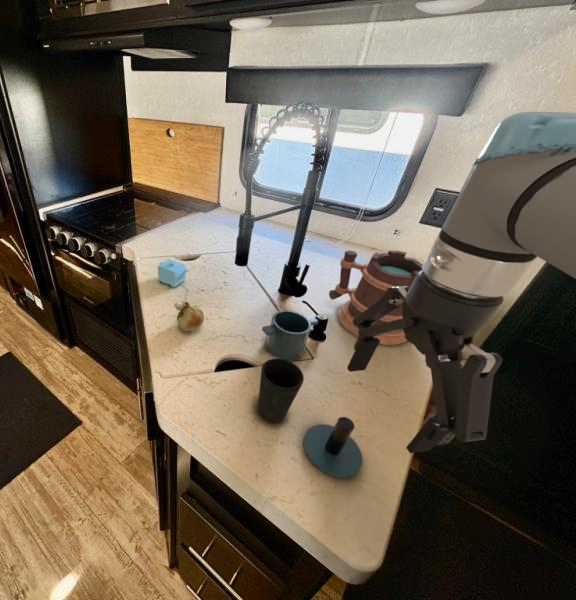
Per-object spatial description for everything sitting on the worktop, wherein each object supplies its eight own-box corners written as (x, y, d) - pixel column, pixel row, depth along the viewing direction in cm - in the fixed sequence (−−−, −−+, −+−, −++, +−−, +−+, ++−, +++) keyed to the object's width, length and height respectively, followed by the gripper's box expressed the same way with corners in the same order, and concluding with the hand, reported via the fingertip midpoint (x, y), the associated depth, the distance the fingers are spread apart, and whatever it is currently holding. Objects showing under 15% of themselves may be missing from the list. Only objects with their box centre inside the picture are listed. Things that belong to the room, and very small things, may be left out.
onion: (180, 338, 84) (181, 315, 79) (173, 320, 90) (173, 298, 85) (207, 334, 85) (209, 310, 81) (197, 316, 92) (199, 294, 87)
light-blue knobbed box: (193, 284, 106) (194, 264, 102) (183, 292, 102) (183, 272, 98) (165, 273, 112) (165, 255, 108) (155, 280, 108) (154, 261, 104)
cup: (275, 392, 69) (286, 354, 62) (297, 420, 64) (312, 382, 57) (245, 402, 67) (253, 364, 60) (266, 433, 61) (277, 394, 54)
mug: (335, 292, 102) (355, 235, 91) (415, 320, 90) (451, 259, 79) (313, 318, 91) (333, 257, 79) (402, 355, 79) (441, 289, 67)
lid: (373, 469, 56) (393, 441, 50) (326, 487, 53) (343, 460, 48) (334, 421, 63) (348, 393, 58) (292, 435, 61) (303, 407, 56)
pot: (319, 352, 79) (328, 327, 75) (269, 365, 76) (276, 339, 71) (297, 330, 87) (304, 305, 82) (251, 341, 83) (255, 316, 78)
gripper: (358, 235, 43) (317, 346, 55) (560, 375, 23) (424, 501, 35) (408, 232, 43) (356, 343, 56) (648, 366, 23) (484, 493, 36)
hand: (382, 404), depth 45 cm, fingers open, 13 cm apart
